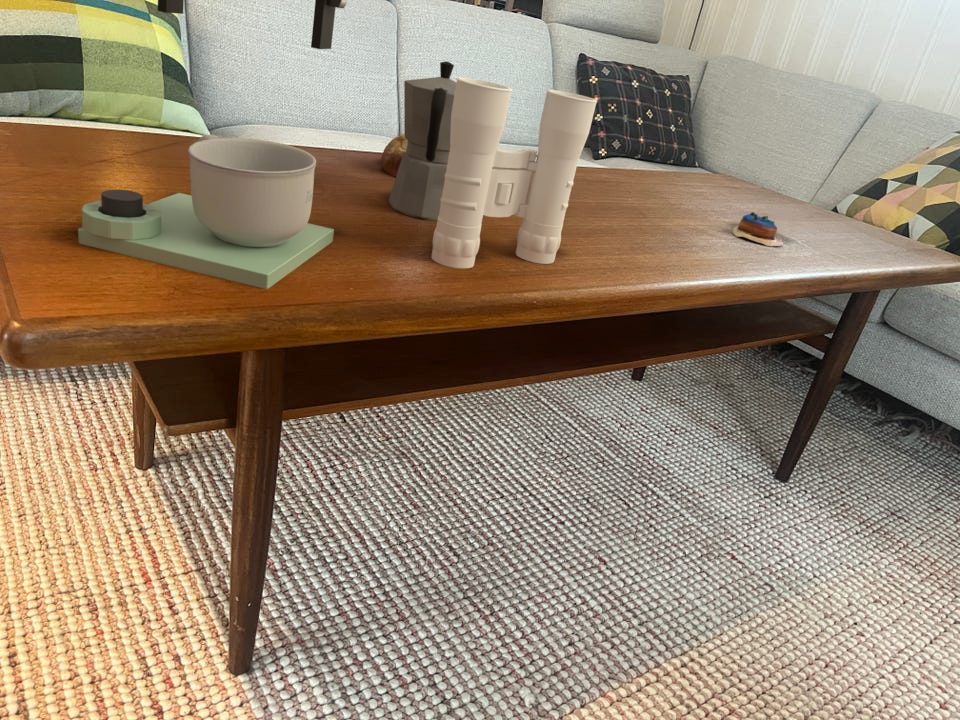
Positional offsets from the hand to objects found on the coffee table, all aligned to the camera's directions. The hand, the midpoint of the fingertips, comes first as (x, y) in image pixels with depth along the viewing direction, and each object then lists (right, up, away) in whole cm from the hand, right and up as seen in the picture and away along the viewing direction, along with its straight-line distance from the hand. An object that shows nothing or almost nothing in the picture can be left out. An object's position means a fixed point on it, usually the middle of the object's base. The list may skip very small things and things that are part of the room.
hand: (245, 30), depth 62 cm
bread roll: (+10, 0, +49) cm, 50 cm away
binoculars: (+22, -17, +19) cm, 33 cm away
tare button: (-11, -15, +1) cm, 19 cm away
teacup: (-2, -16, +7) cm, 18 cm away
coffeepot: (+13, -9, +31) cm, 35 cm away
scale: (-5, -17, +7) cm, 19 cm away
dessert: (+64, -9, +54) cm, 85 cm away
